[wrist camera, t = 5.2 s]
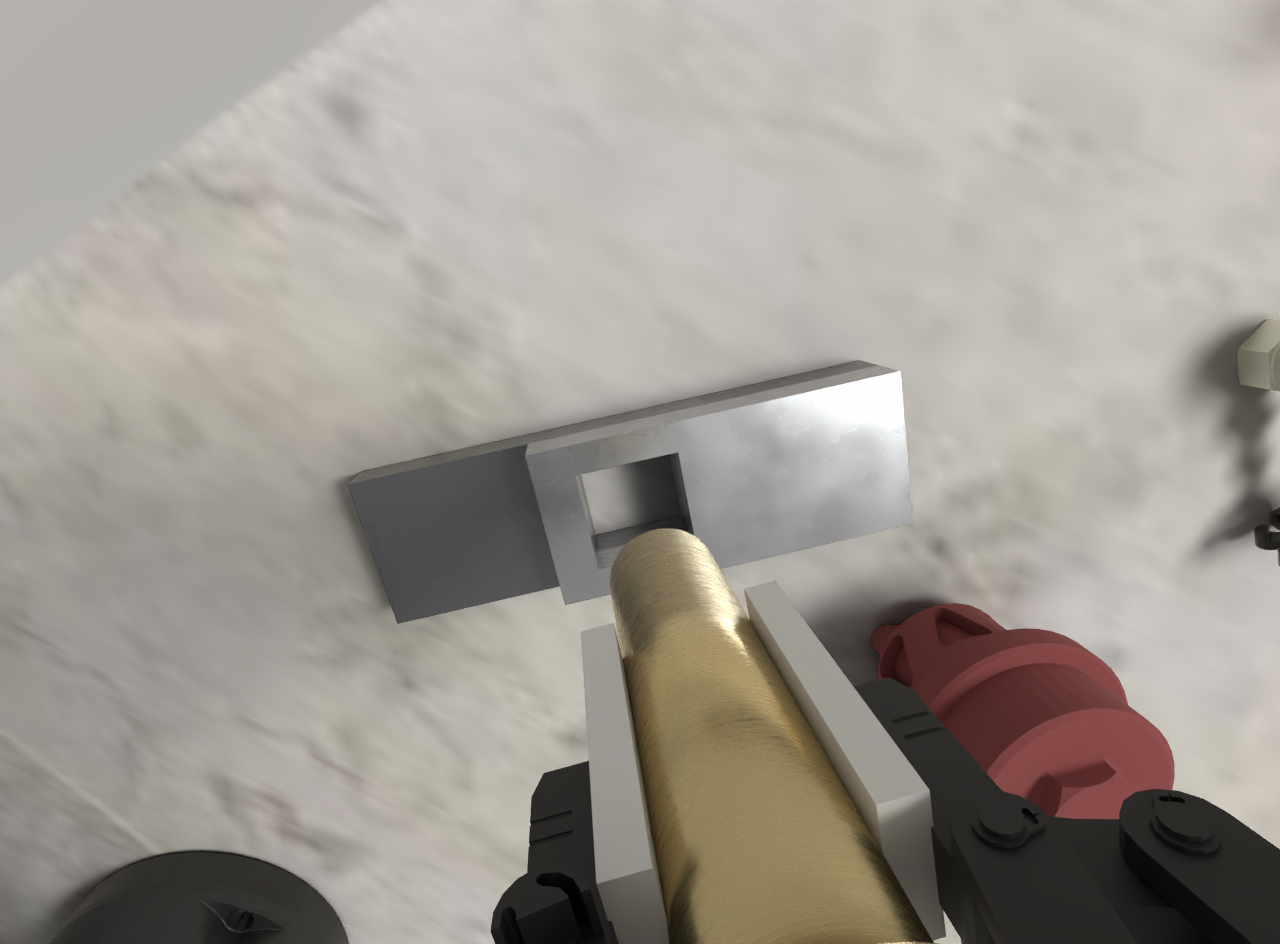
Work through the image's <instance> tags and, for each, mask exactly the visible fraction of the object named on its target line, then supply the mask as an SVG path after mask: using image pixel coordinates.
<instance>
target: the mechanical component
mask: <svg viewBox="0 0 1280 944" xmlns="http://www.w3.org/2000/svg"><path fill="white" fill-rule="evenodd" d="M871 643H872V646H873V647H874V648H875V650H876V651H877V652H878V653H879V655H880V658H879V661H878V668H877V680H881V679H885V678H888V677H890V678H891V679H893V680H895V681H897V682H899V683H901V684H902V685H904V686H906V687H908V688H910V689H912V690H914V691H915V693H916V694H917V695H918V696H919V697H920V698H921V699H922V701H923V702H924V703H925V704H926V705H927V706H928V707H929V708H930V711H931V713H934V714H935V715H936V716H937V718H938V719H939V720H940V721H941V722H942V723H943V724H944V727H945V729H948V730H949V731H950V732H951V733H952V735H953V736H954V737H955V738H956V739H957V740H958V741H959V743H960V744H961V745H962V746H963V747H964V748H965V749H966V750H967V752H968V753H969V754H970V755H971V756H972V757H973V758H974V760H975V761H976V762H977V763H978V764H979V765H980V766H981V768H982V769H983V770H984V771H985V772H986V773H987V774H988V775H989V777H990V778H991V779H992V780H993V781H994V782H995V783H996V785H997V786H998V787H999V788H1000V789H1001V790H1002V791H1004V792H1008V793H1011V794H1015V795H1019V796H1021V797H1023V798H1024V799H1026V800H1028V801H1030V802H1031V803H1033V804H1035V805H1037V806H1038V807H1039V808H1040V809H1041V810H1042V811H1043V812H1044V813H1045V814H1047V815H1051V816H1055V817H1062V818H1072V819H1119V813H1120V809H1121V806H1122V803H1123V800H1125V799H1126V798H1128V797H1129V796H1131V795H1132V794H1134V793H1135V792H1138V791H1144V790H1150V789H1164V790H1172V788H1173V782H1174V760H1173V756H1172V751H1171V749H1170V747H1169V744H1168V742H1167V740H1166V739H1165V737H1164V736H1163V735H1162V733H1161V732H1160V731H1159V730H1158V729H1157V728H1156V727H1155V726H1154V725H1153V724H1151V723H1150V722H1149V721H1148V720H1147V719H1145V718H1144V717H1143V716H1141V715H1140V714H1139V713H1137V712H1136V711H1135V710H1133V709H1132V708H1131V707H1129V706H1128V703H1127V699H1126V695H1125V691H1124V689H1123V687H1122V685H1121V683H1120V681H1119V679H1118V677H1117V676H1116V675H1115V673H1114V672H1113V671H1112V669H1111V668H1110V667H1109V666H1108V665H1106V664H1105V663H1104V662H1103V661H1102V660H1101V659H1099V658H1098V657H1097V656H1095V655H1094V654H1092V653H1091V652H1090V651H1088V650H1087V649H1085V648H1084V647H1083V646H1081V645H1080V644H1079V643H1077V642H1075V641H1073V640H1072V639H1070V638H1068V637H1066V636H1064V635H1061V634H1058V633H1055V632H1052V631H1046V630H1040V629H1014V630H1006V629H1004V628H1003V627H1002V626H1000V625H999V624H998V623H996V622H995V621H994V620H993V619H992V618H991V617H990V616H989V615H987V614H986V613H984V612H983V611H981V610H980V609H977V608H975V607H972V606H969V605H964V604H958V603H957V604H942V605H936V606H933V607H930V608H927V609H924V610H922V611H920V612H918V613H916V614H914V615H913V616H911V617H910V618H908V619H907V620H906V621H904V622H903V623H902V624H901V625H900V626H899V625H884V626H881V627H879V628H878V629H877V630H876V631H875V632H874V633H873V635H872V638H871Z"/></svg>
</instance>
